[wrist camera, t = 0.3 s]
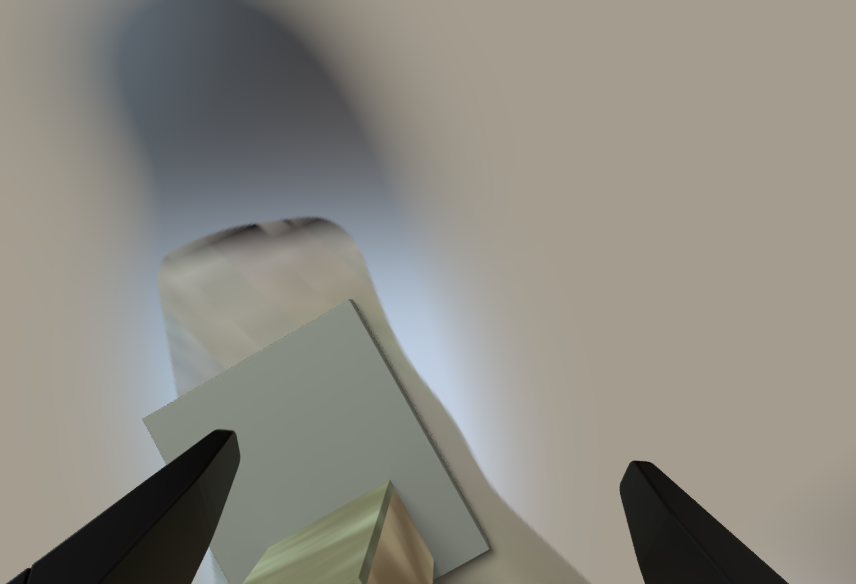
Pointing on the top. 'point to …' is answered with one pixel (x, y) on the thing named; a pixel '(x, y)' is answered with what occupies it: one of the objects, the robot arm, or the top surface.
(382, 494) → the tile block
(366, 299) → the top surface
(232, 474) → the robot arm
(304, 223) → the top surface
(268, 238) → the top surface
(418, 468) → the slate mat
